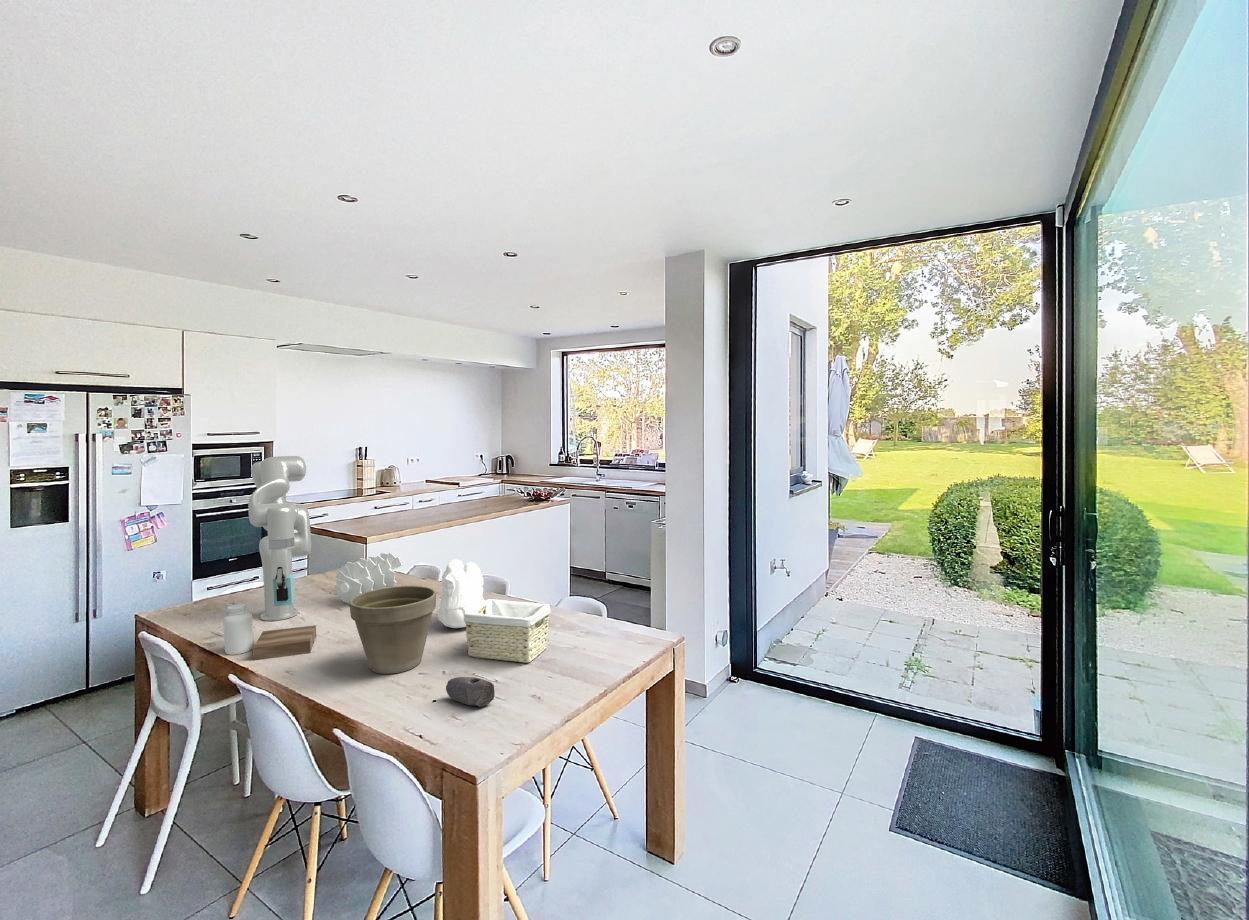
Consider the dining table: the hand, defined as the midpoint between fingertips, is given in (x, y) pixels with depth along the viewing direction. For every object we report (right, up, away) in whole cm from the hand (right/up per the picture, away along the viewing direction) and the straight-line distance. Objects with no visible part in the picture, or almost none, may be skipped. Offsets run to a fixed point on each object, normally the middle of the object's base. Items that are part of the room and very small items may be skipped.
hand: (284, 597), depth 198 cm
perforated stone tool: (+71, -19, -38) cm, 83 cm away
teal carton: (0, -2, 0) cm, 2 cm away
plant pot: (+42, -18, -13) cm, 47 cm away
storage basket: (+75, -17, -4) cm, 77 cm away
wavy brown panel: (0, -17, +1) cm, 17 cm away
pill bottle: (-14, -17, -1) cm, 22 cm away
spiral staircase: (+4, -13, +56) cm, 58 cm away
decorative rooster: (+54, -15, +25) cm, 61 cm away
